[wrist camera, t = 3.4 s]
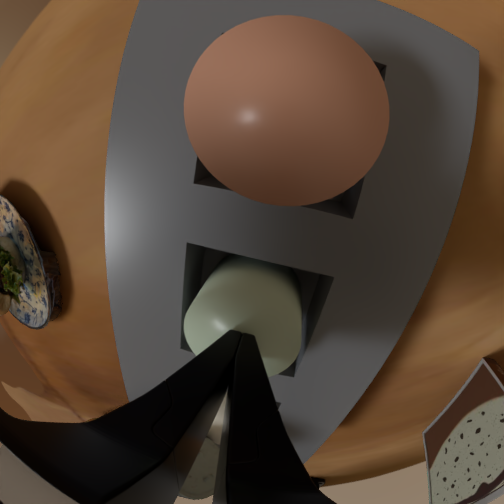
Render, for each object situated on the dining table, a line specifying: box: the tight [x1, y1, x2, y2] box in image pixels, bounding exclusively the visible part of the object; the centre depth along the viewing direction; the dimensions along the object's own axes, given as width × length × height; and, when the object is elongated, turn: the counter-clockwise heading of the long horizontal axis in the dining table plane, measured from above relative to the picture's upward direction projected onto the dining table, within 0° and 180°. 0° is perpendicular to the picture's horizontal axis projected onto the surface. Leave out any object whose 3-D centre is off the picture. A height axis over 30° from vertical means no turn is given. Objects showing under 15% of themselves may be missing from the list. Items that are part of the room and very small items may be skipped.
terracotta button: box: [184, 15, 389, 206], centre depth 6 cm, size 4×4×3 cm
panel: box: [105, 0, 479, 464], centre depth 11 cm, size 12×24×3 cm, turn 170°
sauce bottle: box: [86, 418, 219, 500], centre depth 16 cm, size 6×6×20 cm
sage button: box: [184, 254, 302, 377], centre depth 10 cm, size 4×4×3 cm
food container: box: [422, 358, 504, 504], centre depth 10 cm, size 12×6×10 cm, turn 173°
